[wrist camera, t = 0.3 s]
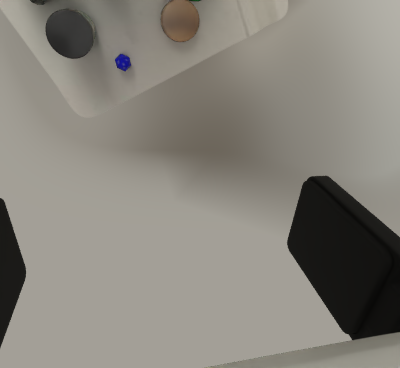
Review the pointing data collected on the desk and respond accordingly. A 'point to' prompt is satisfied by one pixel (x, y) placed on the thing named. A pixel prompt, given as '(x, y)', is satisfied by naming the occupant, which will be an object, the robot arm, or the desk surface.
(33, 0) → the rock
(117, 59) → the die
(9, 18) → the desk surface
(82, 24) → the lid
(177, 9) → the brown round disc
